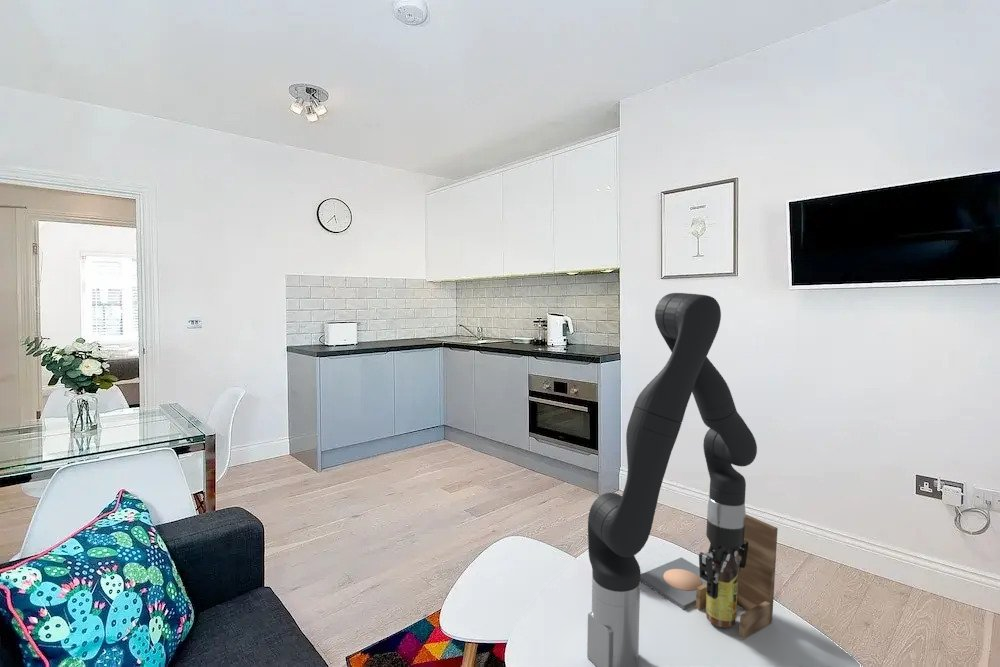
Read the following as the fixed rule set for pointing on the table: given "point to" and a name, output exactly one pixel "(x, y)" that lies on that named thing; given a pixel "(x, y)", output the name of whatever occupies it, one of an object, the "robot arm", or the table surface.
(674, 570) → the mat
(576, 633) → the table surface
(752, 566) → the shelf nook
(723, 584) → the sauce bottle
